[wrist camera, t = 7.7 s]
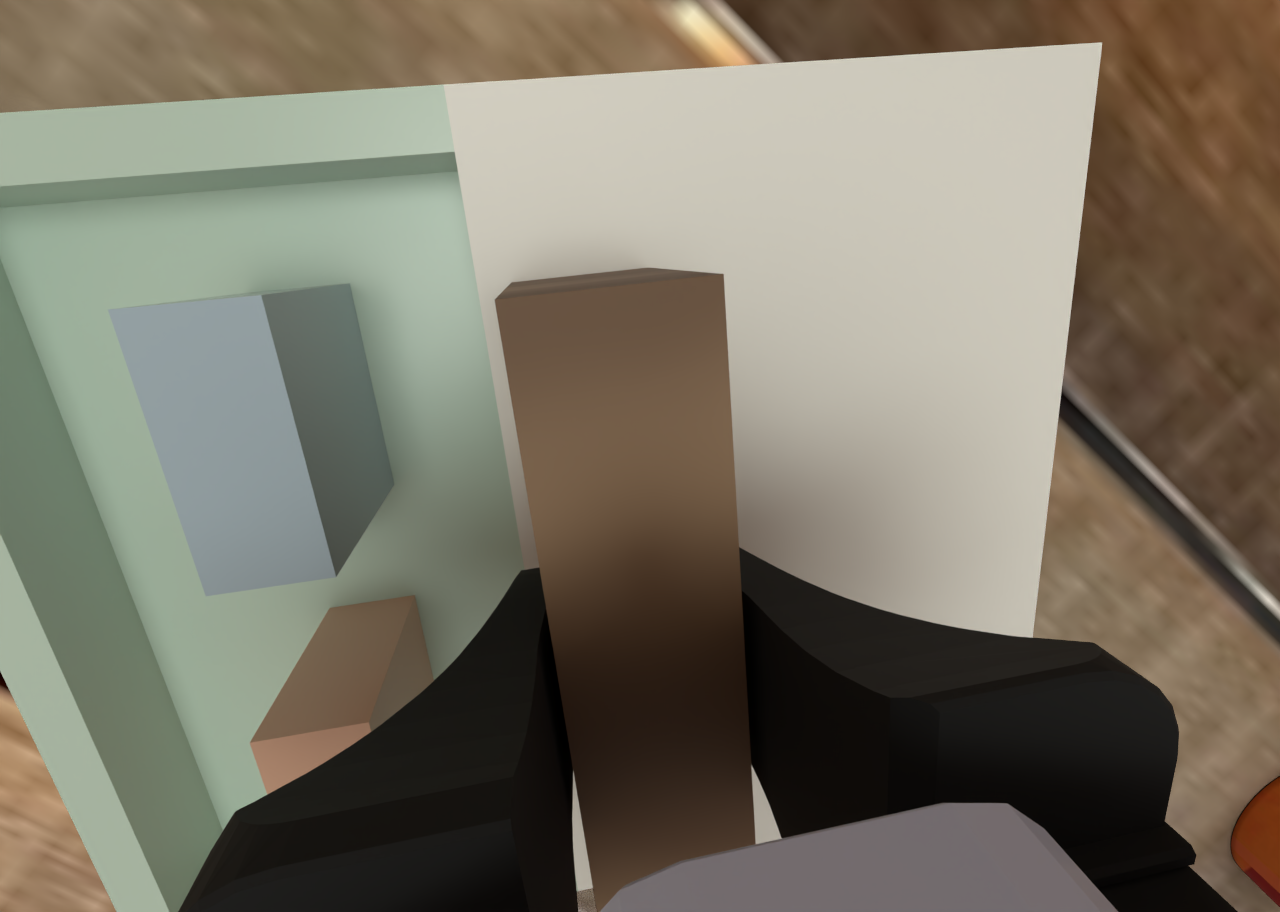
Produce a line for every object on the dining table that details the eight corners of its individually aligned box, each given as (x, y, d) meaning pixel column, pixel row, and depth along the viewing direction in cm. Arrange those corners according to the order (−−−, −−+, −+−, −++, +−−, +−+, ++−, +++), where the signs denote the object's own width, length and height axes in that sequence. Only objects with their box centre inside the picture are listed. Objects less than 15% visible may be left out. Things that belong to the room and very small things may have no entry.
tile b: (336, 577, 10) (205, 596, 10) (394, 484, 15) (303, 496, 14) (260, 295, 9) (107, 309, 9) (349, 283, 13) (248, 292, 13)
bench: (947, 721, 20) (1013, 796, 17) (571, 795, 19) (578, 891, 16) (993, 84, 15) (1102, 42, 12) (463, 122, 13) (443, 84, 10)
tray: (571, 795, 19) (578, 891, 16) (213, 866, 18) (151, 983, 15) (463, 122, 13) (443, 84, 10) (-74, 160, 12) (-262, 130, 9)
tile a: (418, 906, 13) (313, 927, 12) (447, 743, 17) (370, 757, 17) (368, 722, 11) (249, 743, 11) (414, 595, 15) (329, 607, 15)
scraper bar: (695, 778, 15) (765, 1007, 11) (593, 799, 15) (619, 1044, 10) (647, 267, 12) (723, 274, 7) (511, 282, 11) (493, 299, 7)
